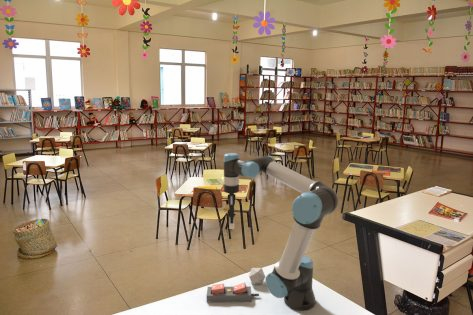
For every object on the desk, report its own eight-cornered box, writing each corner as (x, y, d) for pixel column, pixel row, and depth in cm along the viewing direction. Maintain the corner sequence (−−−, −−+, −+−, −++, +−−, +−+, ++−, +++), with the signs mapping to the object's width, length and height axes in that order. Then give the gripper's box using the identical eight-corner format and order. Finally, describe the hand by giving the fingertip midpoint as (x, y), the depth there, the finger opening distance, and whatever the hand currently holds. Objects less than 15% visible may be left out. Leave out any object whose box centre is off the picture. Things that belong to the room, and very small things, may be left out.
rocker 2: (246, 286, 188) (244, 282, 187) (246, 291, 183) (244, 287, 183) (235, 290, 188) (233, 286, 188) (235, 295, 184) (233, 290, 183)
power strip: (258, 292, 190) (258, 285, 190) (259, 301, 183) (259, 294, 182) (207, 292, 190) (207, 286, 190) (206, 302, 183) (206, 294, 182)
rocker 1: (224, 287, 188) (223, 283, 187) (224, 292, 184) (223, 288, 183) (212, 289, 188) (212, 285, 188) (212, 294, 184) (211, 289, 183)
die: (260, 290, 194) (269, 273, 195) (245, 281, 194) (255, 264, 196) (258, 287, 202) (268, 271, 204) (244, 278, 203) (254, 262, 204)
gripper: (224, 180, 192) (224, 223, 197) (223, 187, 179) (224, 233, 184) (238, 180, 192) (239, 223, 197) (239, 187, 179) (239, 233, 184)
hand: (231, 228), depth 190 cm, fingers closed
